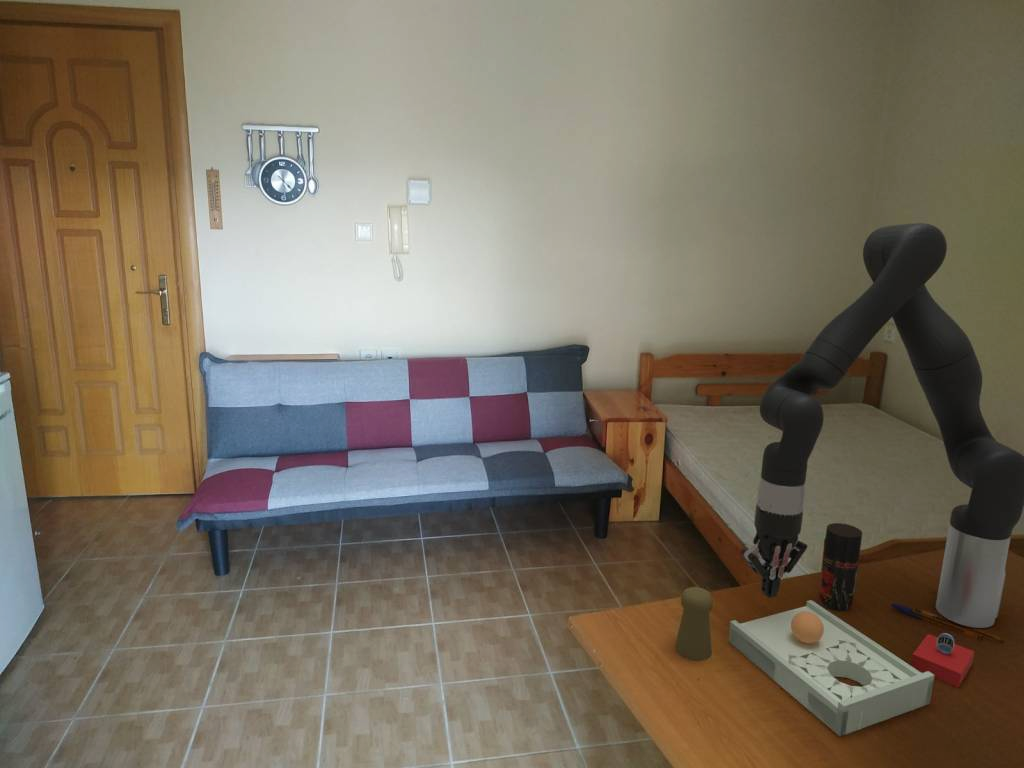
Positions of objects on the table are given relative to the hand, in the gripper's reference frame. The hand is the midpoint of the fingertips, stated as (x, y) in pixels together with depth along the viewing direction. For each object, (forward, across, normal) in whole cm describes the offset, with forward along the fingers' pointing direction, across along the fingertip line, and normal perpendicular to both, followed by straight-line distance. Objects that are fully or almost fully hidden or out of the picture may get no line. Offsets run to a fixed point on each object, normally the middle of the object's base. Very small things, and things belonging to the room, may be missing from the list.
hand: (769, 594), depth 122 cm
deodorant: (+7, -18, -2) cm, 20 cm away
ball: (+1, 0, +9) cm, 9 cm away
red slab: (+7, -19, +19) cm, 28 cm away
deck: (+7, 0, +13) cm, 14 cm away
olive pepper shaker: (+7, +16, 0) cm, 17 cm away
